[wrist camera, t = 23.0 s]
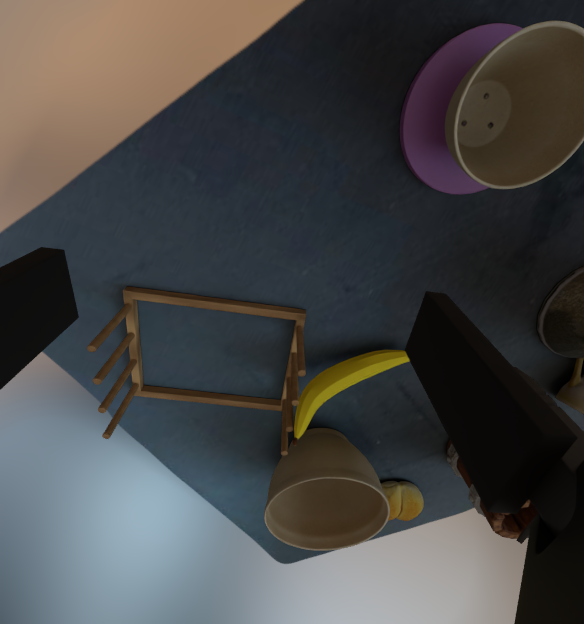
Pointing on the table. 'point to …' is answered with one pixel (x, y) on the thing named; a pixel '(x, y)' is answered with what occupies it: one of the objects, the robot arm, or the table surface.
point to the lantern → (564, 317)
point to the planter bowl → (325, 494)
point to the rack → (139, 389)
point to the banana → (341, 382)
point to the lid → (443, 108)
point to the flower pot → (520, 107)
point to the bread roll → (403, 499)
